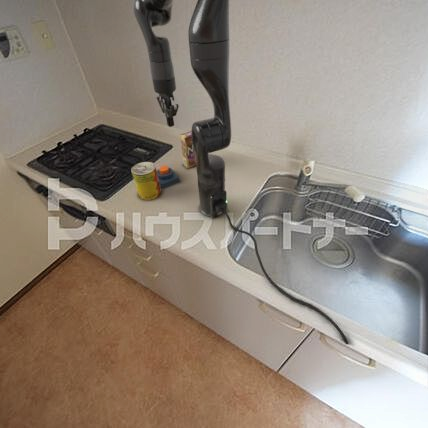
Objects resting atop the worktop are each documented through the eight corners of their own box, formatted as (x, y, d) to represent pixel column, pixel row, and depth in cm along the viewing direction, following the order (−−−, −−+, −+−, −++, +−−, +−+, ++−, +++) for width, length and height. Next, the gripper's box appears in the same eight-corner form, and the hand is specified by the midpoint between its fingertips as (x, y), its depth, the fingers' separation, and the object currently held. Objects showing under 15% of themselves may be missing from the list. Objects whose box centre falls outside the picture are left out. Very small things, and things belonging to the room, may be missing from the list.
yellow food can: (157, 200, 93) (150, 175, 85) (135, 199, 94) (127, 174, 86) (164, 186, 99) (158, 162, 91) (143, 185, 101) (136, 160, 92)
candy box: (187, 169, 108) (184, 137, 97) (183, 165, 110) (179, 134, 100) (204, 162, 111) (202, 131, 100) (199, 158, 114) (197, 128, 103)
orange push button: (179, 181, 101) (178, 173, 99) (162, 188, 99) (161, 180, 96) (169, 170, 108) (167, 163, 105) (152, 177, 105) (150, 169, 102)
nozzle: (171, 172, 100) (170, 168, 99) (162, 176, 99) (161, 172, 97) (166, 168, 102) (165, 164, 101) (158, 171, 101) (157, 167, 100)
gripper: (144, 73, 82) (154, 122, 94) (161, 82, 74) (170, 134, 86) (164, 69, 85) (171, 117, 97) (182, 77, 77) (188, 128, 89)
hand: (171, 125), depth 91 cm, fingers closed
